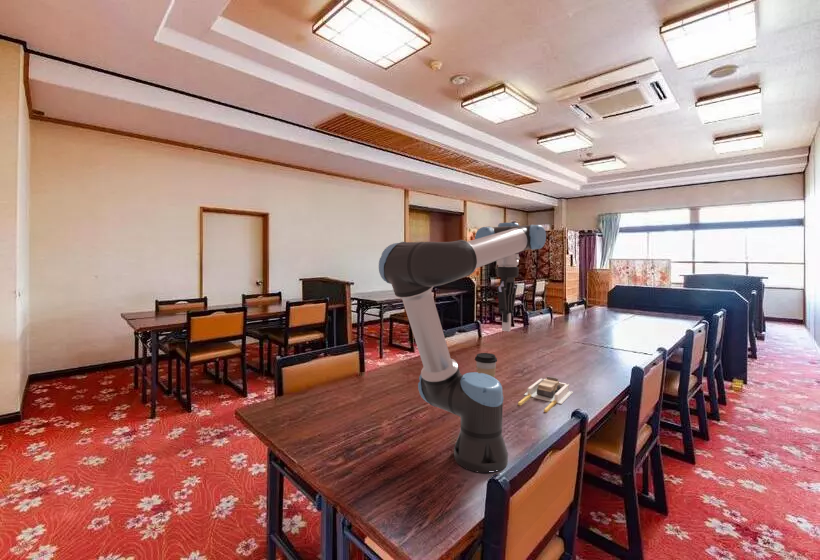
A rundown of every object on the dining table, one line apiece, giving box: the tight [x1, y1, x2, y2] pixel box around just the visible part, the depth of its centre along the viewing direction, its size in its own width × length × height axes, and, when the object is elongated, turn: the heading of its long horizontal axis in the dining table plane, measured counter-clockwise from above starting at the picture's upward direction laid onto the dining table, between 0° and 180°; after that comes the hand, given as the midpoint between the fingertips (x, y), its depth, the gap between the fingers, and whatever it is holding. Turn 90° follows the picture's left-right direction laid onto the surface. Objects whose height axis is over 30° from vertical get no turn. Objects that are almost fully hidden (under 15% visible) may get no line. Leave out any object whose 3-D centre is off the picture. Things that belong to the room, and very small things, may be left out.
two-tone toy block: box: [537, 375, 560, 398], centre depth 156 cm, size 11×6×6 cm, turn 142°
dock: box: [517, 377, 574, 413], centre depth 152 cm, size 27×15×3 cm, turn 142°
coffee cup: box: [474, 352, 498, 378], centre depth 161 cm, size 9×9×15 cm
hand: (506, 330), depth 137 cm, fingers closed
